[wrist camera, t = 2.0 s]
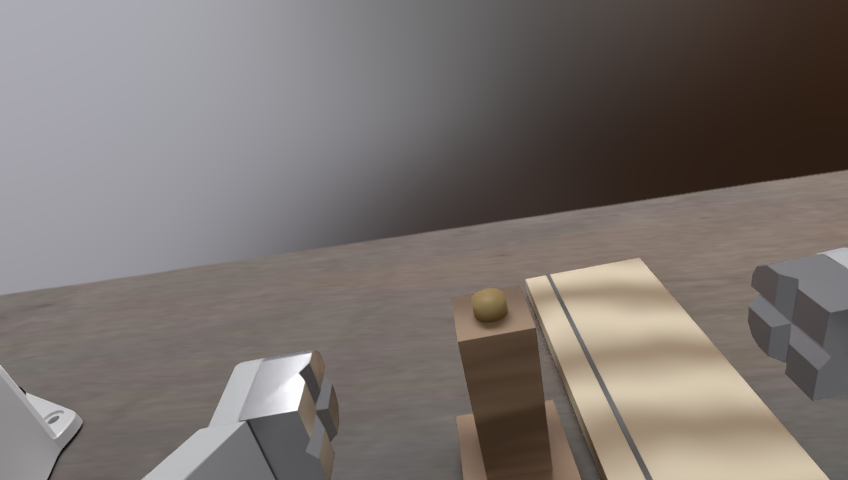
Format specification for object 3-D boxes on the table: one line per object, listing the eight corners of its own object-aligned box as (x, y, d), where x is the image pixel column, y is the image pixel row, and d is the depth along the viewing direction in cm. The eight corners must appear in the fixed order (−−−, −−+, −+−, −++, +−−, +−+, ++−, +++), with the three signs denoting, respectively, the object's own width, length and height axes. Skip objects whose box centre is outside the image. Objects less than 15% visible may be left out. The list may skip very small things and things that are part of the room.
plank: (856, 538, 23) (863, 517, 23) (638, 572, 24) (638, 552, 23) (639, 272, 45) (639, 256, 44) (527, 293, 45) (525, 278, 44)
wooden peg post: (586, 518, 27) (571, 325, 21) (474, 536, 27) (428, 351, 21) (555, 428, 32) (536, 255, 26) (462, 444, 32) (423, 276, 26)
